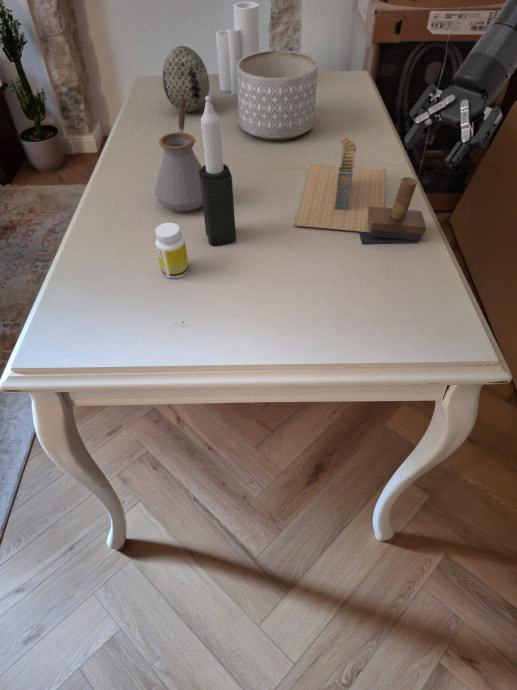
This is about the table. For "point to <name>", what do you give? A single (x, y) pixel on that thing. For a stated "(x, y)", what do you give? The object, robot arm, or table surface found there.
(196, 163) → the grey ribbed jar
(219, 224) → the candle
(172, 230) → the supplement bottle
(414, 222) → the brown block with cylinder
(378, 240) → the mat
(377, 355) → the table surface
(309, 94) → the planter
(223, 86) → the vase
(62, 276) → the table surface
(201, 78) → the decorative egg
